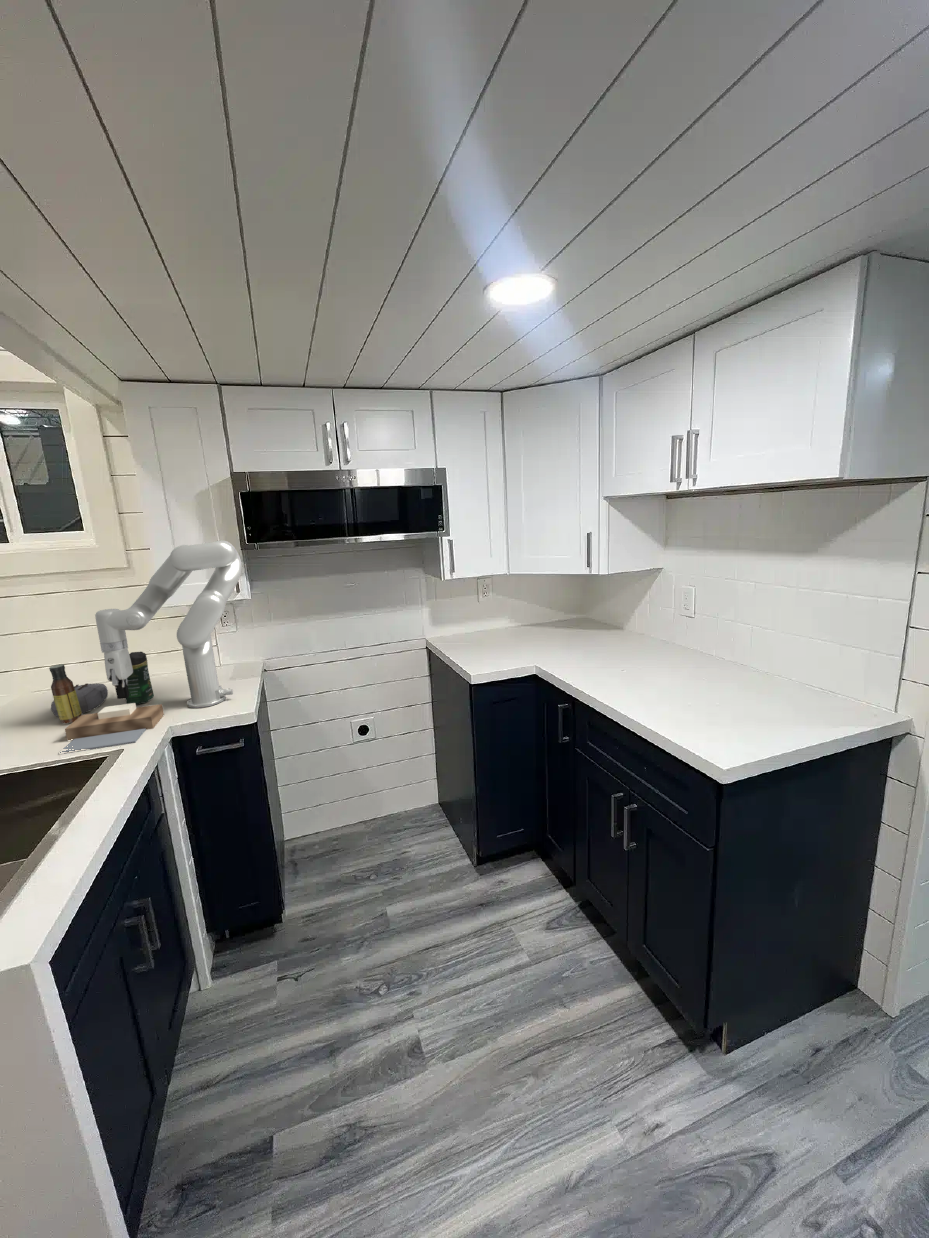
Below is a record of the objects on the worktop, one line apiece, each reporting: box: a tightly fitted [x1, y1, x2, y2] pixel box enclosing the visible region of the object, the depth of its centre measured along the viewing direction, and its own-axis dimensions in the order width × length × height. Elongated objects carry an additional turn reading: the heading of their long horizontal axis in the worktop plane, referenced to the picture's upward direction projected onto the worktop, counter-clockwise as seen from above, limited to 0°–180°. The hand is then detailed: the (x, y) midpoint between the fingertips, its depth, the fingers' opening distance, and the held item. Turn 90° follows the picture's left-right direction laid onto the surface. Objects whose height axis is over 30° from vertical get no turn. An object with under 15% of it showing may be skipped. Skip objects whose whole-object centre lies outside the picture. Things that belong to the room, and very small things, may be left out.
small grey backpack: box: [50, 682, 109, 718], centre depth 190 cm, size 15×8×20 cm
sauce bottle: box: [48, 663, 83, 725], centre depth 177 cm, size 6×6×20 cm
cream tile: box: [97, 703, 137, 719], centre depth 171 cm, size 9×6×2 cm, turn 105°
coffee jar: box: [125, 651, 155, 706], centre depth 193 cm, size 10×8×19 cm
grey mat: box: [59, 728, 147, 753], centre depth 159 cm, size 20×10×1 cm, turn 105°
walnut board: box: [64, 703, 165, 740], centre depth 170 cm, size 24×12×4 cm, turn 105°
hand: (123, 697), depth 178 cm, fingers closed
